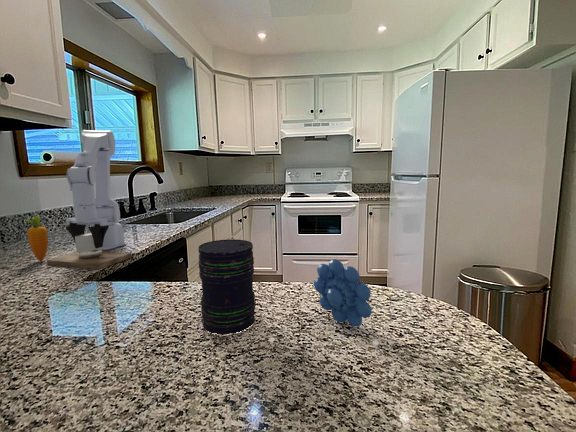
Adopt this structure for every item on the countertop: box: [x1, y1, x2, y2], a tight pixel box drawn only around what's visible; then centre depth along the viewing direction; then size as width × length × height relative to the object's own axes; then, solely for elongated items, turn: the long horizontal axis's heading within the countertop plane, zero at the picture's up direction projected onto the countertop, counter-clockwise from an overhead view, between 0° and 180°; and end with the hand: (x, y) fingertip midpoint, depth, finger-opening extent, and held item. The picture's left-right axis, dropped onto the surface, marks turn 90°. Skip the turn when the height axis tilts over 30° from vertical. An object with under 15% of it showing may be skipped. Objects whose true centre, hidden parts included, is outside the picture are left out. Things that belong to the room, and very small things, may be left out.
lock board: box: [46, 250, 133, 270], centre depth 97 cm, size 13×20×2 cm, turn 75°
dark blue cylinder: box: [198, 238, 256, 334], centre depth 55 cm, size 10×10×15 cm
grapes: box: [313, 258, 373, 327], centre depth 54 cm, size 12×7×12 cm, turn 52°
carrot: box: [25, 215, 49, 262], centre depth 97 cm, size 5×5×15 cm
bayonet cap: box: [74, 232, 103, 258], centre depth 96 cm, size 6×7×7 cm
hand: (89, 246), depth 97 cm, fingers open, 7 cm apart
